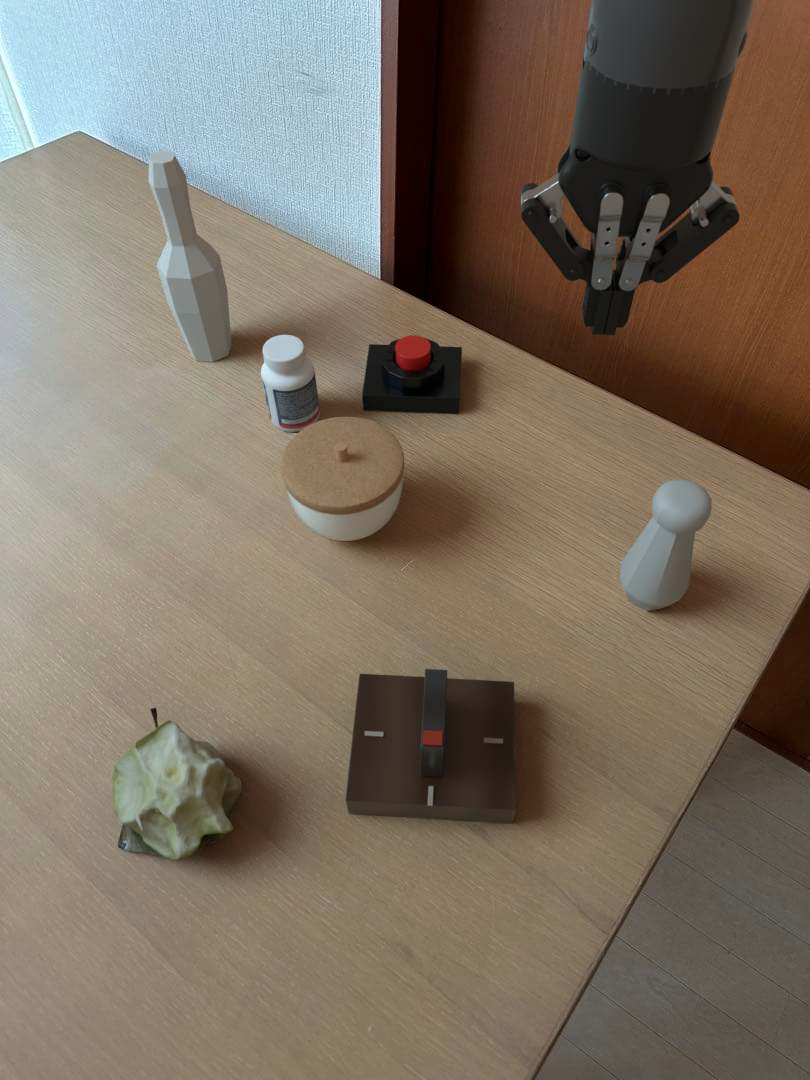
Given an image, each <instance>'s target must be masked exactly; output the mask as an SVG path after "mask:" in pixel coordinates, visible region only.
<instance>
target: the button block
mask: <svg viewBox="0 0 810 1080" xmlns="http://www.w3.org/2000/svg"><path fill="white" fill-rule="evenodd" d="M424 338H425V339H427V340H428V341H429V343H430V345H431V361H430V364H429V365H428V366H427V367H426V368H424V369H421V370H418V371H406V370H404V369H402V368H400V367H399V366H398V365H397V363H396V352H395V346H396V343H397V342H398V340H400V339H401V338H398V339H396V340H392V341H390V343H389V344H381V343H380V344H378V343H377V344H375V343H370V344H368V351H367V357H366V364H365V374H364V379H363V380H364V381H363V386H362V393H361V399H362V411H365V412H367V411H368V412H395V413H423V414H424V413H425V414H446V415H447V414H449V415H451V414H452V415H460V410H461V409H460V407H461V391H462V390H461V387H462V385H461V384H462V360H463V347H462V346H443V345H442V346H441V345H439V344H438V342H437V341H434V340H432V339H430V338H426V337H424Z"/></svg>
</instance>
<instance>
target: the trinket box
mask: <svg viewBox="0 0 810 1080" xmlns="http://www.w3.org/2000/svg"><path fill="white" fill-rule="evenodd" d="M404 471H405V453H404V450H403V447H402V445H401V443H400V441H399V440H398V439H397V437H396V436H395V435H394V434H393V433H392V432H391V431H390V430H389V429H388V428H386V427H385V426H383V425H381V424H379V423H377V422H375V421H373V420H369V419H366V418H363V417H362V418H361V417H357V416H336V417H330V418H329V417H328V418H326V419H321V420H317V421H316V422H315V423H314V424H311V425H309V426H308V427H306V428H304V429H303V430H301V431H298V433H296V434H295V435H294V436H293V437H292V438H291V439H290V441H288V443H287V444H286V446H285V448H284V450H283V452H282V454H281V460H280V473H281V478H282V481H283V484H284V487H285V491H286V494H287V497H288V500H289V502H290V505H291V507H292V509H293V511H294V512H295V514H296V516H297V517H298V519H299V520H300V521H301V522H302V524H304V525H305V526H306V527H307V528H308V529H310V531H312V532H313V533H315V534H317V535H319V536H321V537H323V538H326V539H329V540H333V541H338V542H355V541H358V540H362V539H364V538H365V539H366V538H368V537H369V536H371V535H373V534H375V533H377V532H378V531H380V530H381V529H382V528H383V527H384V526H385V525H386V524H387V523H388V522H389V521H390V520H391V519H392V517H393V516H394V514H395V512H396V510H397V509H398V505H399V504H400V500H401V497H402V491H403V485H404V473H405V472H404Z"/></svg>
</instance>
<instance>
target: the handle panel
mask: <svg viewBox="0 0 810 1080" xmlns="http://www.w3.org/2000/svg"><path fill="white" fill-rule="evenodd" d="M424 679H425V676H414V675H413V676H409V675H395V674H394V675H392V674H373V673H359V677H358V684H357V693H356V701H355V709H354V710H355V711H354V720H353V728H352V738H351V746H350V754H349V755H350V756H349V762H348V763H349V764H348V772H347V773H348V774H347V781H346V782H347V784H346V790H345V791H346V792H345V803H346V808H347V813H348V814H350V815H363V816H364V815H365V816H380V817H396V818H411V819H412V818H413V819H426V820H427V819H429V820H446V821H459V822H460V821H461V822H478V823H491V824H493V823H495V824H511V825H512V824H513V822H514V818H515V814H516V810H517V792H516V791H517V789H516V788H517V785H516V783H517V781H516V780H517V779H516V716H515V715H516V714H515V713H516V711H515V709H516V708H515V682H514V681H509V680H508V681H506V680H489V679H468V678H450V677H449V678H448V677H447V695H446V719H445V743H444V763H443V776H442V777H432V776H421V775H420V746H421V729H422V712H423V695H424Z"/></svg>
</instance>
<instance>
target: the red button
mask: <svg viewBox="0 0 810 1080" xmlns="http://www.w3.org/2000/svg"><path fill="white" fill-rule="evenodd" d="M425 338H426V337H424V336H421V335H415V334H411V335H410V334H409V335H406V336H403V337H401V338H399V339H400V340H398V339H397V340H398V342H397V343H396V346H395V352H396V363H397V365H398V366H399V367H400V368H402V369H404V370H406V371H418V370H421V369H424V368H426V367H427V366H428V365H429V364H430V361H431V345H430V343H429V341H428V340H427V339H428V338H427V339H425Z"/></svg>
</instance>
